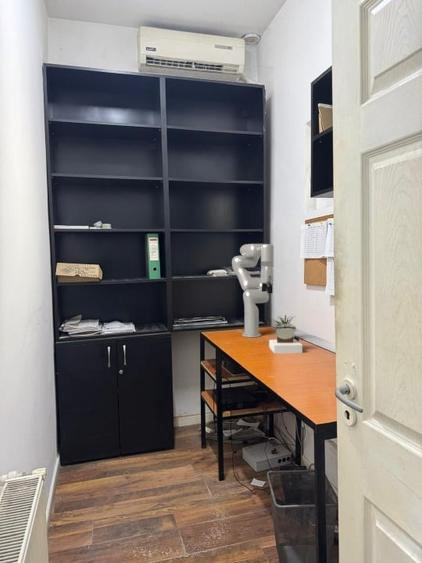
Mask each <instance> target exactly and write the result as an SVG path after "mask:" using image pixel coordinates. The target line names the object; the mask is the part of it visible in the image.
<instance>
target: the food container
mask: <svg viewBox="0 0 422 563" xmlns="http://www.w3.org/2000/svg"><path fill="white" fill-rule="evenodd" d="M290 324H291V323H289V324H288V323H287V324H282V323H281V324H278V323H277V325H275V326H274V330H275V333H276V340H277V343H294V339H295V334H296V330H297V327H296V325H294V324H291V325H290Z"/></svg>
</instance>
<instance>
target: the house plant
mask: <svg viewBox="0 0 422 563" xmlns="http://www.w3.org/2000/svg"><path fill="white" fill-rule="evenodd" d="M276 317H278V318H276V319H278V320H279V321H278V320H273V321H274V322H275V323H276V324H275V326H276V325H278V324H290V325H292V323H291V322H292V321H293V320H294V319H293V318H296V317H297V316H292V315H291V316H289V317H287V314H285V315H284V318H283V317H281V316H278V315H277V316H276ZM289 318H290V319H289Z"/></svg>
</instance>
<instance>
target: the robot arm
mask: <svg viewBox="0 0 422 563" xmlns="http://www.w3.org/2000/svg"><path fill="white" fill-rule="evenodd" d="M274 247H275V246H274V244H271V243H270V244H269V243H248V244H247V243H246V244H243V245H242V246H241V247H240V248H239V252H240V254H241V255H236V256H233V258H232V260H231V267H232V270H233V272H234V274H235V275H236V276H237V278H238V281H239V284H240V286H241V289H242V290H243V294H242V299H243V305H244V332H242V334H241V335H242V336H243V337H244V338H259V337H261V336H262V333H261V332H259V325H260V324H259V319H260V318H259V315H260V314H259V312H260V311H259V308H258V306H257V305H256V304H264V303H267V302H268V301H269V299H270V294H273V286H274V285H273V284H274V273H273V272H274V271H273V269H274V250H275V249H274ZM259 259H260V267H261V268H260V277H252V276H251V275H250V273H249V271H248V270H247V269H246V268H255V267H256V266H257V265H258V261H259Z"/></svg>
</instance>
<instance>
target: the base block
mask: <svg viewBox="0 0 422 563" xmlns="http://www.w3.org/2000/svg"><path fill="white" fill-rule="evenodd" d="M268 341H269V342H268V347H269V349H270V350H271V352H273V354H302V353H303V344H302V343H300V342H299V341H298V340H297V338H296V339H295V338H294V343H277V339H269V340H268Z"/></svg>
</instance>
